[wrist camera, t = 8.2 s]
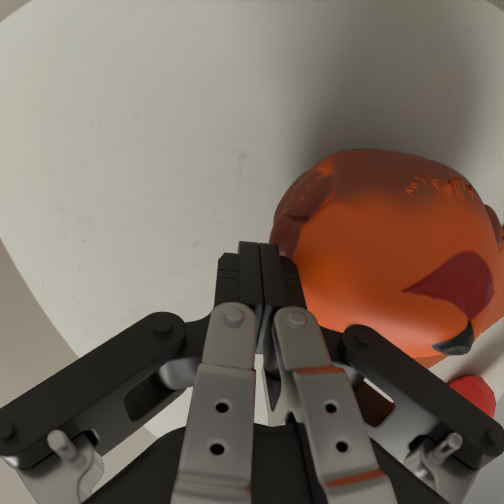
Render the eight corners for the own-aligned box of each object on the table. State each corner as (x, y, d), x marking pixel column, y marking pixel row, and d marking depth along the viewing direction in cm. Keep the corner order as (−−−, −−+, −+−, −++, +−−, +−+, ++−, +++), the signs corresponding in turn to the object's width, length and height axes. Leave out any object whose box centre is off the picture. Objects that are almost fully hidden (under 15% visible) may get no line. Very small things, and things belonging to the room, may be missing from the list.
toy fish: (461, 150, 16) (595, 251, 6) (412, 285, 22) (476, 415, 12) (271, 109, 15) (311, 199, 6) (250, 275, 21) (252, 443, 11)
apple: (492, 361, 29) (517, 411, 22) (465, 396, 33) (483, 443, 27) (444, 372, 29) (468, 431, 22) (419, 408, 33) (435, 460, 27)
